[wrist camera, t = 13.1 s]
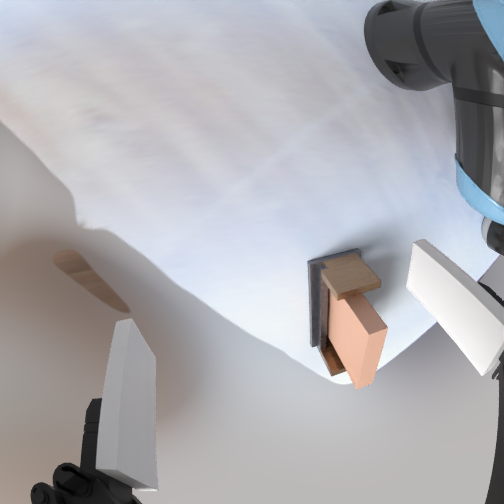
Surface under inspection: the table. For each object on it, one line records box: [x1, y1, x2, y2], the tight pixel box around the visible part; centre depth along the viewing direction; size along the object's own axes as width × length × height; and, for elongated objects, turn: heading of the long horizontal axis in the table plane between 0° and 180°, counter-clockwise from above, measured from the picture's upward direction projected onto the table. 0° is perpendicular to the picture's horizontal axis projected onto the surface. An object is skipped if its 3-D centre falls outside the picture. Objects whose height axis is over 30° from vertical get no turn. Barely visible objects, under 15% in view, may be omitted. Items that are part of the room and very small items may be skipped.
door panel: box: [327, 288, 388, 389], centre depth 43 cm, size 3×14×14 cm, turn 9°
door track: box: [308, 248, 381, 376], centre depth 46 cm, size 9×20×9 cm, turn 9°
